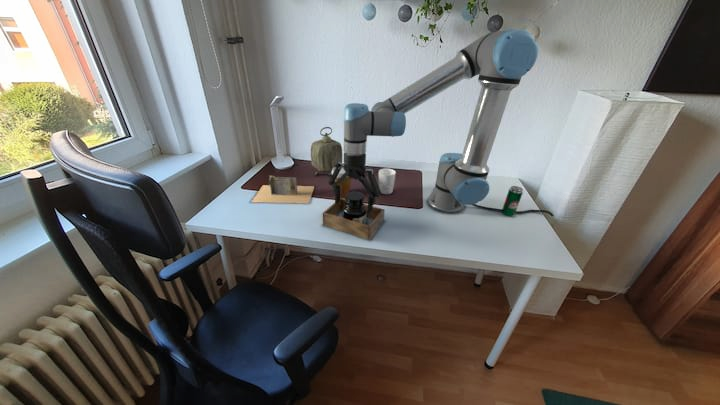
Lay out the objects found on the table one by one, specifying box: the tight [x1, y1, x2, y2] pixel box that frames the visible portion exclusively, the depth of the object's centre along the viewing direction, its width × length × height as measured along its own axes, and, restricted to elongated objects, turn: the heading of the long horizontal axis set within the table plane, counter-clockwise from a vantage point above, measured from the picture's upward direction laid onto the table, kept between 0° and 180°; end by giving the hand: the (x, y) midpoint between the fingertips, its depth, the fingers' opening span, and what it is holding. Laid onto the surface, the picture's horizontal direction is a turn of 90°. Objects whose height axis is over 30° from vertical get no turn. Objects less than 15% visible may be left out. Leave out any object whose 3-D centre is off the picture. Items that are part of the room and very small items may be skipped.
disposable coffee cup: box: [330, 167, 352, 198], centre depth 123 cm, size 10×10×12 cm
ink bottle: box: [342, 191, 367, 225], centre depth 103 cm, size 10×9×12 cm
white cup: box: [377, 167, 397, 195], centre depth 127 cm, size 8×8×10 cm
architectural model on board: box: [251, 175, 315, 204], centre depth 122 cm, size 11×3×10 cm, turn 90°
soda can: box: [501, 185, 524, 217], centre depth 111 cm, size 5×5×12 cm
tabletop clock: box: [310, 126, 343, 177], centre depth 138 cm, size 14×9×25 cm, turn 130°
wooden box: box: [322, 197, 385, 241], centre depth 104 cm, size 20×14×6 cm
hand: (353, 206), depth 102 cm, fingers open, 13 cm apart
